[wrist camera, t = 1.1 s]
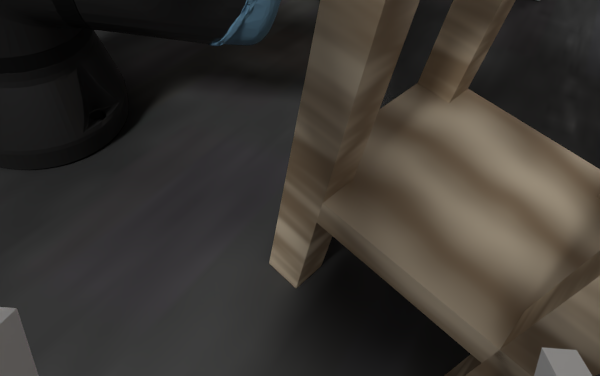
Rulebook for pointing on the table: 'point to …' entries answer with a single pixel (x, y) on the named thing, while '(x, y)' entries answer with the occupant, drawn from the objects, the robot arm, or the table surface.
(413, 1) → the shelf stand
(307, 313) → the table surface
